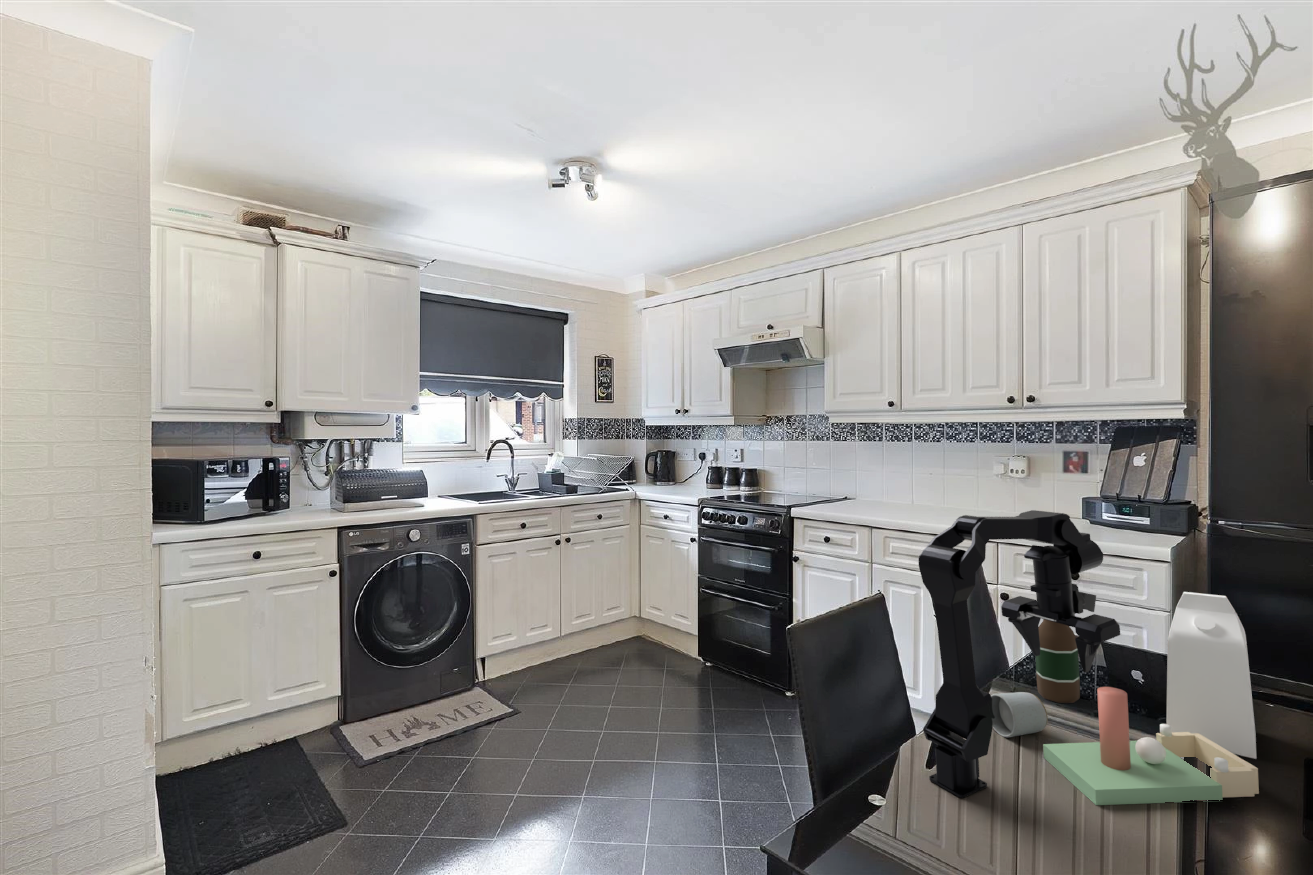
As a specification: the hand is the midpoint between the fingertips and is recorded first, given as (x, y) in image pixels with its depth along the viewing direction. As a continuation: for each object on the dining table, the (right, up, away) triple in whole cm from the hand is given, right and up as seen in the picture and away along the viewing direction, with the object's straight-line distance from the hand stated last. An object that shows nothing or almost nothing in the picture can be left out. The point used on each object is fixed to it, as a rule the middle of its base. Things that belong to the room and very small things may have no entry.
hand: (1061, 663), depth 115 cm
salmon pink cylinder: (+2, -13, -11) cm, 17 cm away
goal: (+16, -14, -12) cm, 24 cm away
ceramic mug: (-5, -16, +7) cm, 18 cm away
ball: (+7, -10, -11) cm, 17 cm away
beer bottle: (+12, -14, +19) cm, 27 cm away
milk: (+28, -14, 0) cm, 31 cm away
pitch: (+4, -15, -11) cm, 19 cm away
